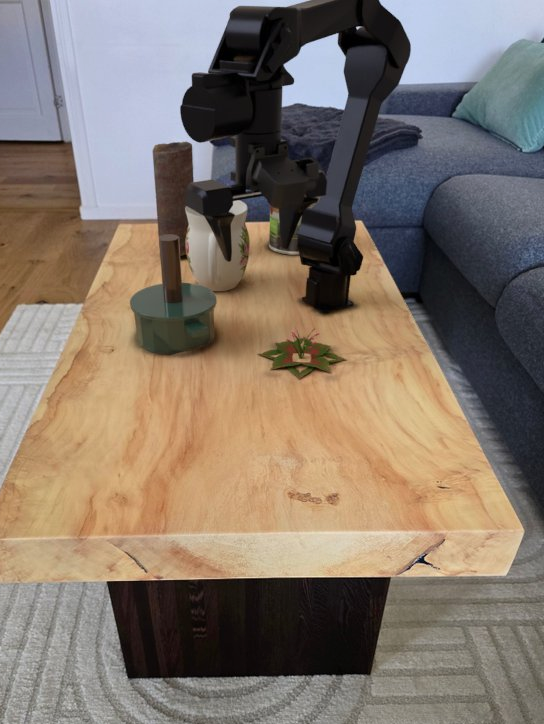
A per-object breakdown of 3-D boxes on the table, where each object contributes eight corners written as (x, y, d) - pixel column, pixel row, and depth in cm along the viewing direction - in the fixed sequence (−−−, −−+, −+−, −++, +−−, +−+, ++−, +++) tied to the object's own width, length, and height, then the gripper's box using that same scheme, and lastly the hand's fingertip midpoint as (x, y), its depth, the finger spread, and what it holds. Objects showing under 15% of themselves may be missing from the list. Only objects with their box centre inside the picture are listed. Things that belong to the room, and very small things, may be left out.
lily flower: (242, 357, 91) (242, 328, 88) (304, 334, 97) (306, 306, 94) (297, 392, 83) (299, 361, 80) (361, 364, 89) (365, 335, 86)
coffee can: (276, 257, 123) (279, 180, 115) (262, 240, 131) (263, 167, 123) (327, 252, 125) (332, 177, 117) (310, 236, 133) (314, 164, 125)
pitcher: (180, 306, 105) (175, 222, 97) (193, 266, 119) (189, 190, 111) (246, 307, 104) (246, 223, 96) (251, 267, 119) (251, 191, 110)
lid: (225, 293, 97) (224, 226, 91) (203, 329, 87) (200, 256, 81) (147, 286, 99) (141, 220, 93) (117, 321, 89) (108, 249, 83)
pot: (185, 308, 104) (183, 276, 101) (237, 350, 93) (236, 315, 89) (119, 324, 100) (114, 291, 96) (164, 370, 88) (161, 334, 85)
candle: (195, 261, 122) (190, 148, 110) (157, 261, 122) (148, 148, 110) (198, 247, 128) (193, 139, 116) (162, 247, 128) (153, 139, 116)
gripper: (223, 150, 69) (226, 288, 78) (359, 132, 76) (347, 260, 86) (179, 133, 77) (186, 260, 86) (305, 119, 84) (300, 236, 93)
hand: (257, 254), depth 87 cm, fingers open, 9 cm apart
